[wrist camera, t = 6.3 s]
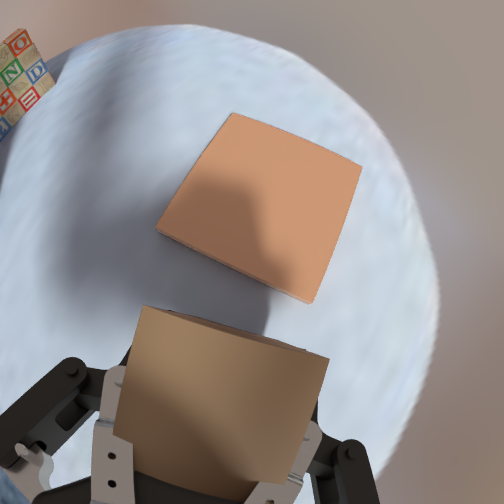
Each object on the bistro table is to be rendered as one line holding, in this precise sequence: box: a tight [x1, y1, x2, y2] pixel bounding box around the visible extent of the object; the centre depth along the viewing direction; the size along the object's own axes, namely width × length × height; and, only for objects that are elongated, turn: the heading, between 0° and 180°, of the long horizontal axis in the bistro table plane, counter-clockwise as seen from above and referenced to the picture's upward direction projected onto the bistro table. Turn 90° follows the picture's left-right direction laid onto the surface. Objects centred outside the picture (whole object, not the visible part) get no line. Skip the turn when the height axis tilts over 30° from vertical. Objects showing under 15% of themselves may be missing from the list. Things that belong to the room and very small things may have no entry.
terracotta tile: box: [155, 113, 362, 304], centre depth 20 cm, size 12×12×1 cm
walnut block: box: [112, 305, 330, 504], centre depth 11 cm, size 5×5×10 cm
